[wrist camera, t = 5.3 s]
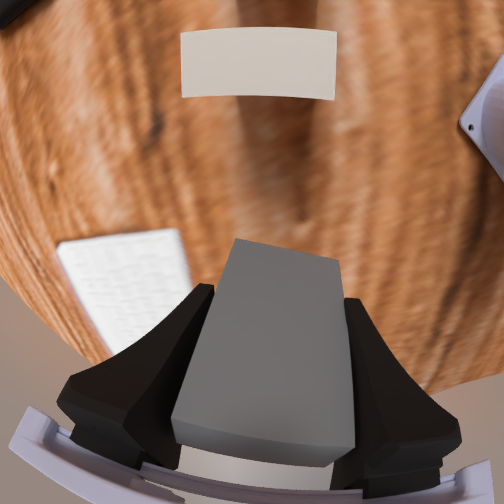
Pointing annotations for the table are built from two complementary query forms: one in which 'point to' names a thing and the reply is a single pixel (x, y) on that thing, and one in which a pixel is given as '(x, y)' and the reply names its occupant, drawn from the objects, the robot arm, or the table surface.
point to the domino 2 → (271, 362)
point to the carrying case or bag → (12, 10)
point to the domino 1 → (259, 62)
